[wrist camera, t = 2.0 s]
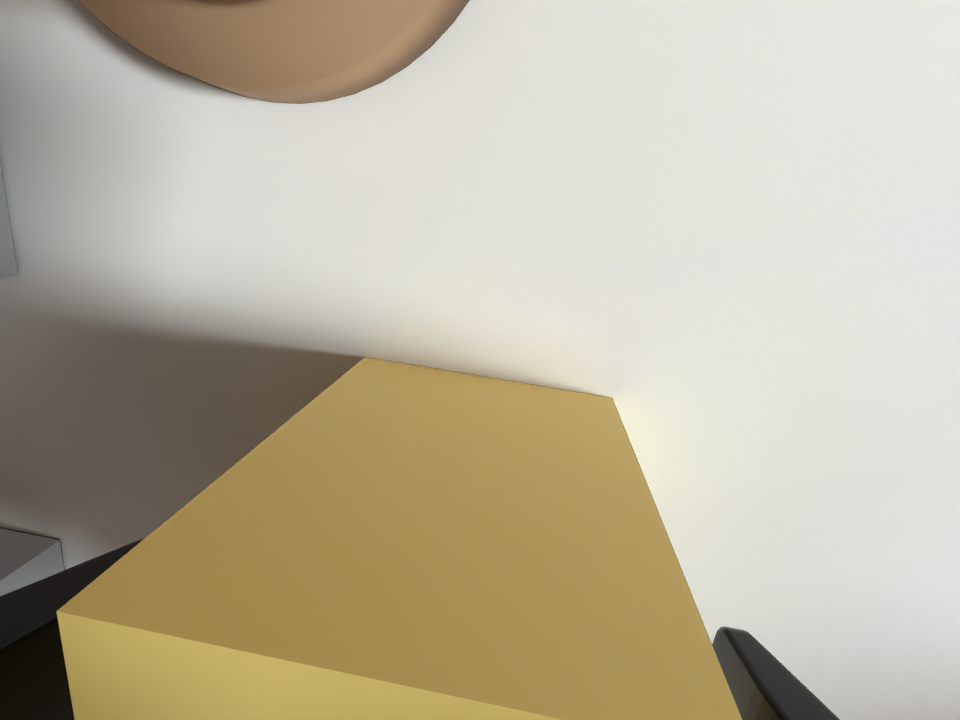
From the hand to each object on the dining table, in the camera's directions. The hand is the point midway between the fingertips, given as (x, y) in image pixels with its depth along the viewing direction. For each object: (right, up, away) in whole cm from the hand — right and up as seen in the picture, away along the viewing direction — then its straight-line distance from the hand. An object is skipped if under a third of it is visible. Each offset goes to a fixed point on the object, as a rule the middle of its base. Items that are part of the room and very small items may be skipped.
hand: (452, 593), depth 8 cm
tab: (0, +1, +1) cm, 2 cm away
